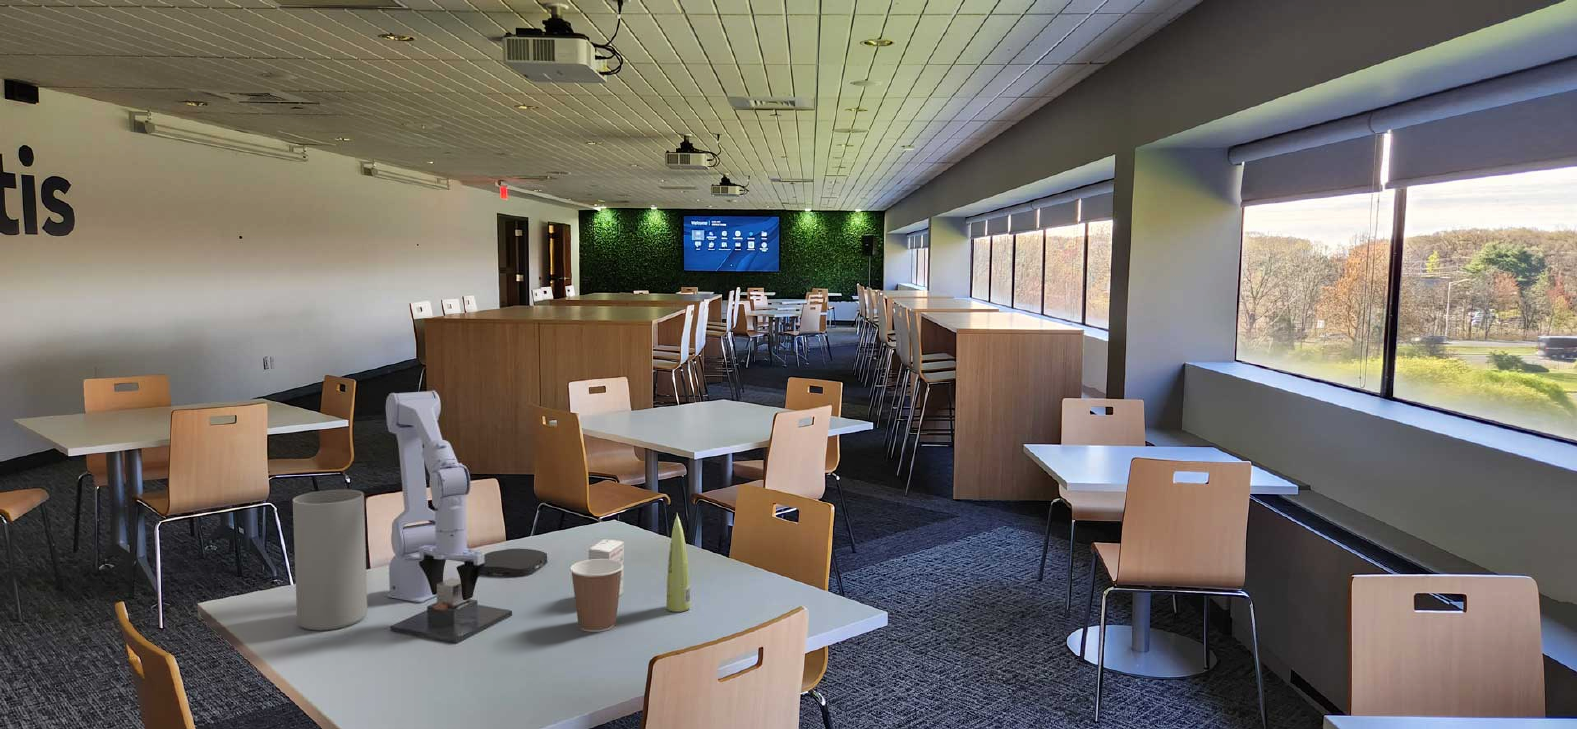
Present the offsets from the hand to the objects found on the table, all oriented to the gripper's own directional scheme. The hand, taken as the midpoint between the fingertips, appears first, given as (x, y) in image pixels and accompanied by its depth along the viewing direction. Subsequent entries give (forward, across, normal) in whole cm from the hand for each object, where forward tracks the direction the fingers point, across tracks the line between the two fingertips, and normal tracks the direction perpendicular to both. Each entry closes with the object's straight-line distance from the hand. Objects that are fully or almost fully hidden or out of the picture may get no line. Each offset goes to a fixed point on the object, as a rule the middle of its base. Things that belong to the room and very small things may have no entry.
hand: (452, 596), depth 178 cm
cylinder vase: (+6, -23, -8) cm, 25 cm away
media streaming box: (+6, -13, +34) cm, 37 cm away
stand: (+6, 0, 0) cm, 6 cm away
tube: (+6, +37, +25) cm, 45 cm away
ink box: (+6, +20, +24) cm, 32 cm away
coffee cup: (+6, +27, +10) cm, 29 cm away
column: (+4, 0, 0) cm, 4 cm away
